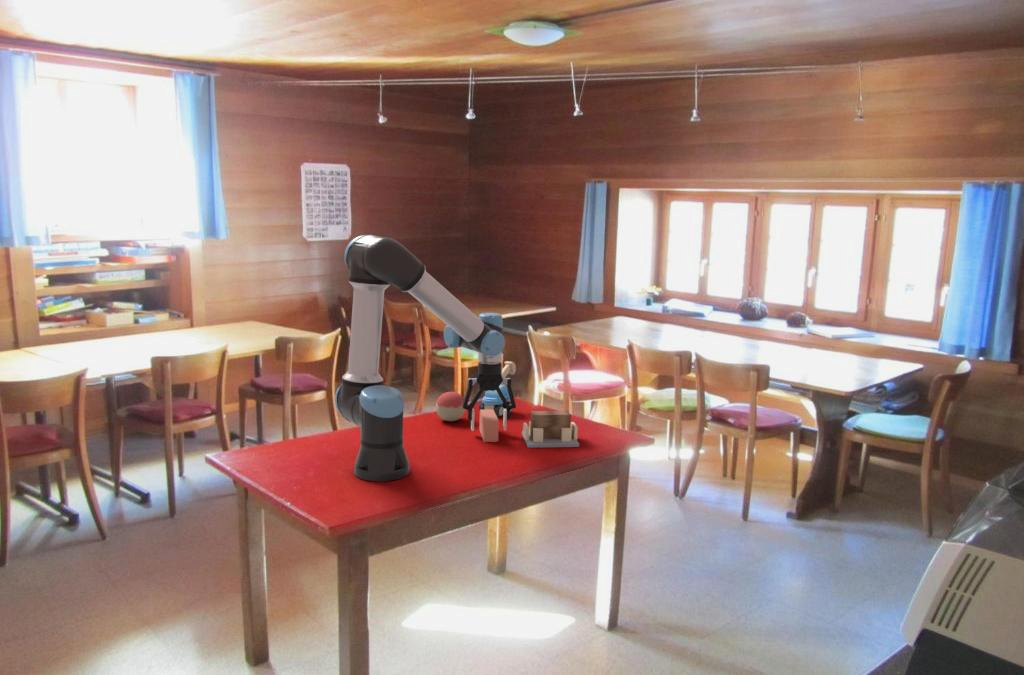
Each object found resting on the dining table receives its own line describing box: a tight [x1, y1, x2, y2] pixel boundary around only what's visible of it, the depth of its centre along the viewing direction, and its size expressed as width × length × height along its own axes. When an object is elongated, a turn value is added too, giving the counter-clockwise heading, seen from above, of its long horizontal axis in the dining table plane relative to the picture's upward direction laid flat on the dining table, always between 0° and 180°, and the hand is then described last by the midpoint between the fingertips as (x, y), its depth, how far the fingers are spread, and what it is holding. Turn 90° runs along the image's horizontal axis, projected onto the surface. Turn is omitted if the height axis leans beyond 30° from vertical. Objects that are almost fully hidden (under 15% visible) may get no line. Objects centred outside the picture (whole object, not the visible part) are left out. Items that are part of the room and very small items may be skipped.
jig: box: [521, 420, 580, 449], centre depth 254 cm, size 16×14×5 cm
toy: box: [435, 391, 466, 422], centre depth 273 cm, size 10×12×10 cm
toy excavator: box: [478, 360, 517, 418], centre depth 285 cm, size 9×17×17 cm, turn 148°
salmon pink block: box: [478, 409, 500, 443], centre depth 257 cm, size 4×13×7 cm, turn 9°
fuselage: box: [530, 410, 572, 440], centre depth 254 cm, size 12×4×8 cm, turn 97°
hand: (488, 429), depth 258 cm, fingers open, 10 cm apart
